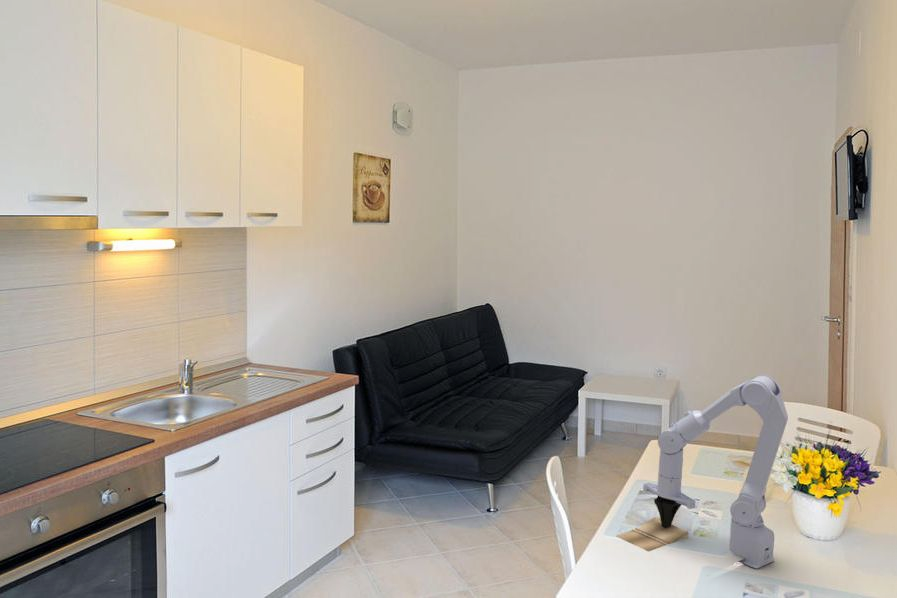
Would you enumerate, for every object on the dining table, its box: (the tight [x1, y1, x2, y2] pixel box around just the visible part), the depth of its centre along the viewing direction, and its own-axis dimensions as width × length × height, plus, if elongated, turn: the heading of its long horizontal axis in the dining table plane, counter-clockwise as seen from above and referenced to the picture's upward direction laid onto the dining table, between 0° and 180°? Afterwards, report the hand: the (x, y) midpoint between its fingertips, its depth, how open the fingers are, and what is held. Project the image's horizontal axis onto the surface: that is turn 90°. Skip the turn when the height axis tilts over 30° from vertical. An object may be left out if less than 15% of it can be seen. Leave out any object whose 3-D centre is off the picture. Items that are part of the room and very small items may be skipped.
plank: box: [633, 517, 689, 545], centre depth 191 cm, size 10×8×2 cm
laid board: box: [615, 529, 668, 552], centre depth 186 cm, size 10×7×2 cm
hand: (666, 526), depth 192 cm, fingers closed, pressing on plank
